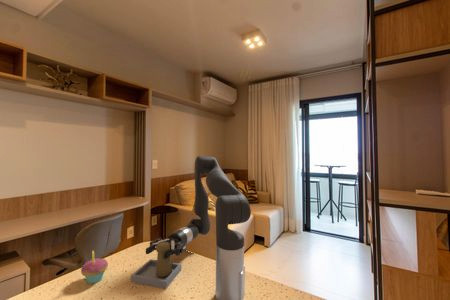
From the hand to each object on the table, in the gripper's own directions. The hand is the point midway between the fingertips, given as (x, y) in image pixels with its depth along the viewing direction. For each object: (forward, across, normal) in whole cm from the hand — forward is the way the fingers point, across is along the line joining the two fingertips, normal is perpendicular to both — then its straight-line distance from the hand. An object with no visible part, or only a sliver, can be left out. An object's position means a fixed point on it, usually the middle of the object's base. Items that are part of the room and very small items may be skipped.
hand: (155, 254), depth 80 cm
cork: (-2, +2, +8) cm, 8 cm away
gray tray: (-2, 0, +9) cm, 9 cm away
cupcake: (+10, -19, +9) cm, 24 cm away
